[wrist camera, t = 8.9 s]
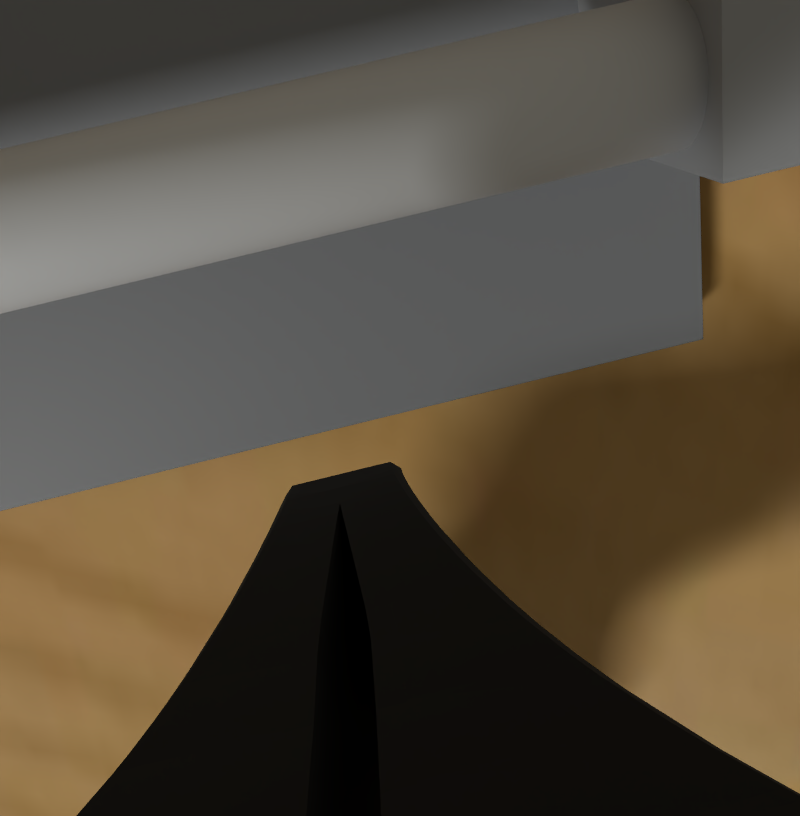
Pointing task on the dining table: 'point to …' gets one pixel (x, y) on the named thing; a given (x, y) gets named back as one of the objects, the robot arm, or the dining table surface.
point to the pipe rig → (350, 208)
